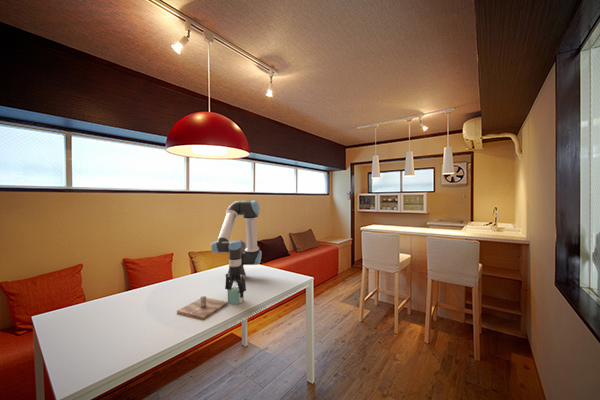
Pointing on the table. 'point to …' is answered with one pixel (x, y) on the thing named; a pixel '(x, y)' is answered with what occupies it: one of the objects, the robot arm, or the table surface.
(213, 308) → the wooden peg board
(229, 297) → the teal rectangular block
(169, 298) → the table surface
